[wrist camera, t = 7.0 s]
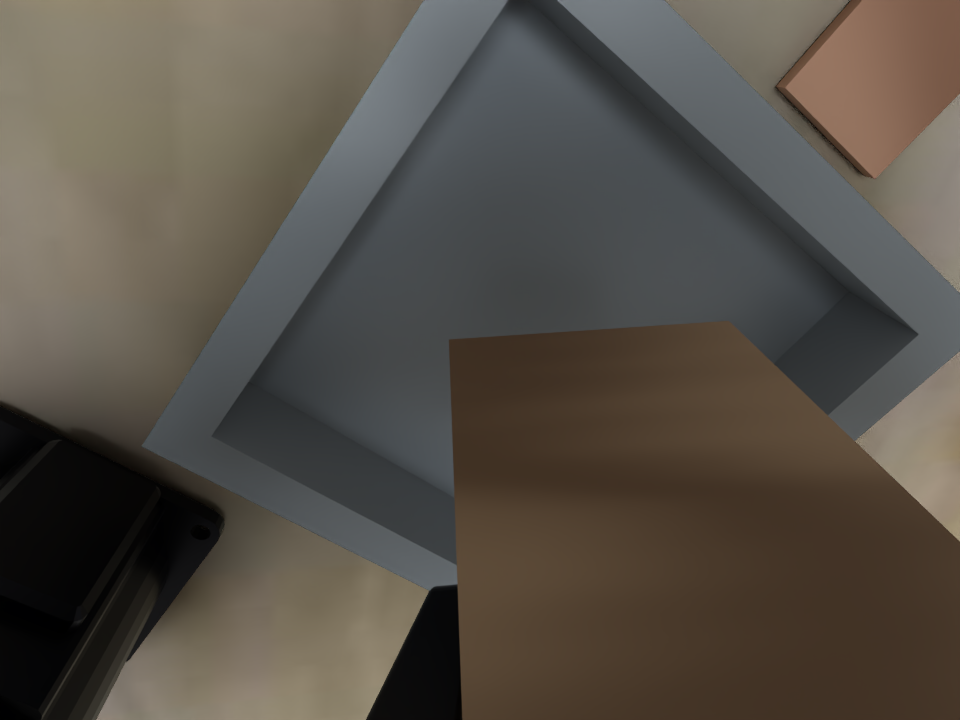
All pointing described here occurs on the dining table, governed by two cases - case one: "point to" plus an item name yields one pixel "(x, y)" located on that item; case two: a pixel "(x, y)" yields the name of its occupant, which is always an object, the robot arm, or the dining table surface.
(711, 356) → the block
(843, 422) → the tray
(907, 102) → the crank base
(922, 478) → the dining table surface
